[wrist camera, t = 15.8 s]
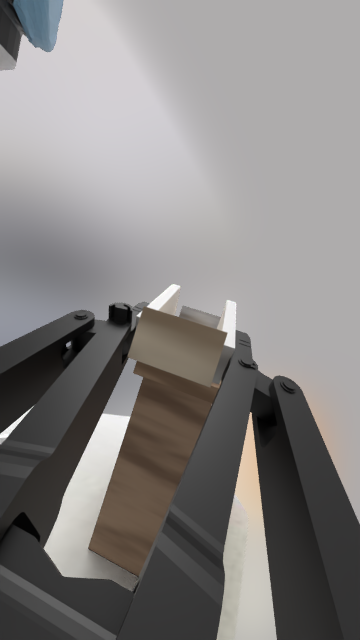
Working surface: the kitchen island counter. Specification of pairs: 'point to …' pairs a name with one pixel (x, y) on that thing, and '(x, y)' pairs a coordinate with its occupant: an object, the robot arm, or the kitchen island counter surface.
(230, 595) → the kitchen island counter surface
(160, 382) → the walnut stand
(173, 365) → the mallet
